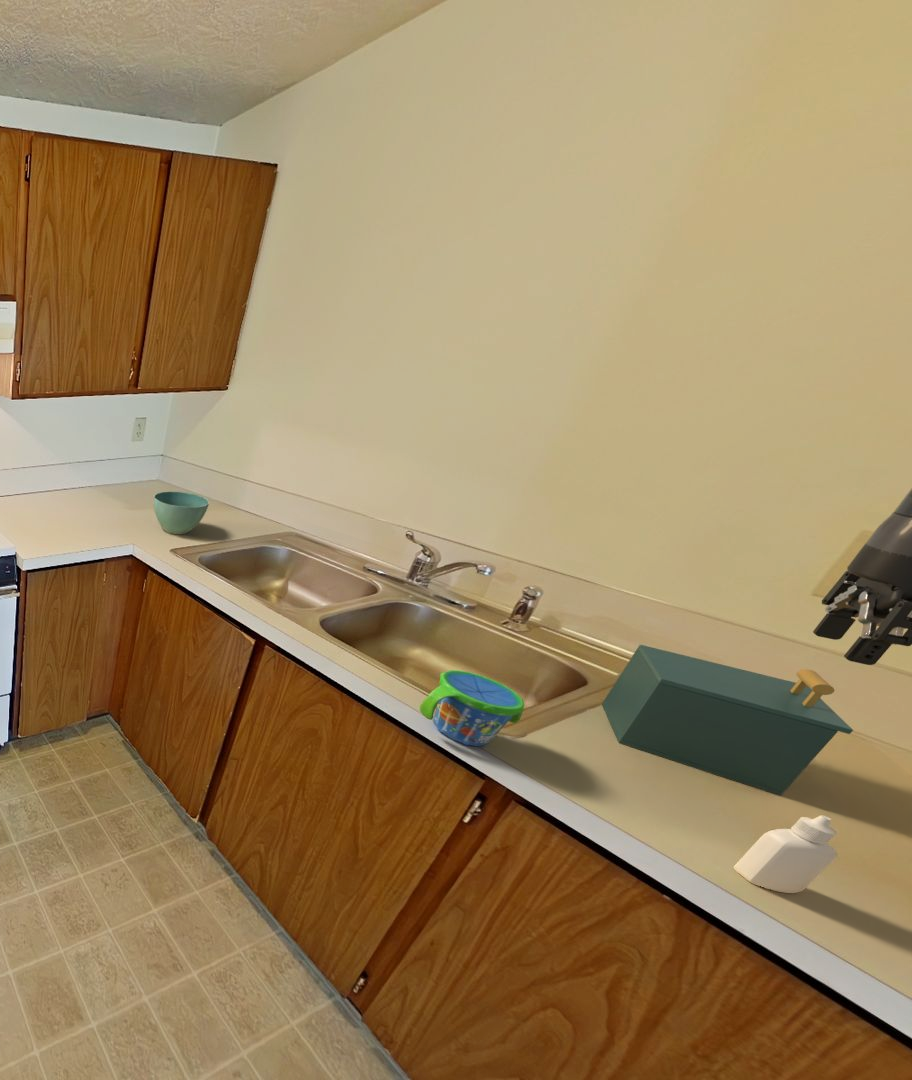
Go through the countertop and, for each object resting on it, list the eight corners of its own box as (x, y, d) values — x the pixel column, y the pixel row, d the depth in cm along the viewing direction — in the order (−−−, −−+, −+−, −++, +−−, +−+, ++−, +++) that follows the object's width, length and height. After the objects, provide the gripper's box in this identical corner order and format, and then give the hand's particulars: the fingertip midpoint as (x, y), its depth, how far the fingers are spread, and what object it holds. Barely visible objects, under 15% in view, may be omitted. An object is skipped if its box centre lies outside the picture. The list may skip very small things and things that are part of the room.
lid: (804, 689, 83) (824, 664, 81) (849, 734, 74) (874, 707, 72) (637, 647, 94) (652, 624, 92) (659, 682, 85) (676, 657, 83)
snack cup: (483, 717, 96) (506, 673, 92) (533, 760, 86) (561, 713, 82) (393, 708, 98) (411, 665, 94) (431, 749, 88) (454, 703, 84)
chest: (745, 747, 89) (794, 687, 84) (780, 796, 80) (838, 731, 75) (601, 704, 99) (637, 648, 94) (618, 742, 90) (658, 682, 85)
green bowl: (184, 543, 173) (190, 510, 168) (138, 528, 187) (143, 496, 182) (212, 532, 183) (219, 500, 178) (167, 518, 197) (172, 488, 192)
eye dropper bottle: (723, 855, 71) (778, 793, 66) (794, 881, 67) (856, 818, 63) (737, 878, 68) (795, 816, 63) (811, 907, 64) (878, 843, 60)
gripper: (1018, 575, 62) (920, 682, 68) (937, 542, 71) (859, 638, 78) (902, 559, 66) (820, 660, 72) (841, 529, 76) (774, 621, 82)
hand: (840, 648), depth 75 cm, fingers open, 8 cm apart
